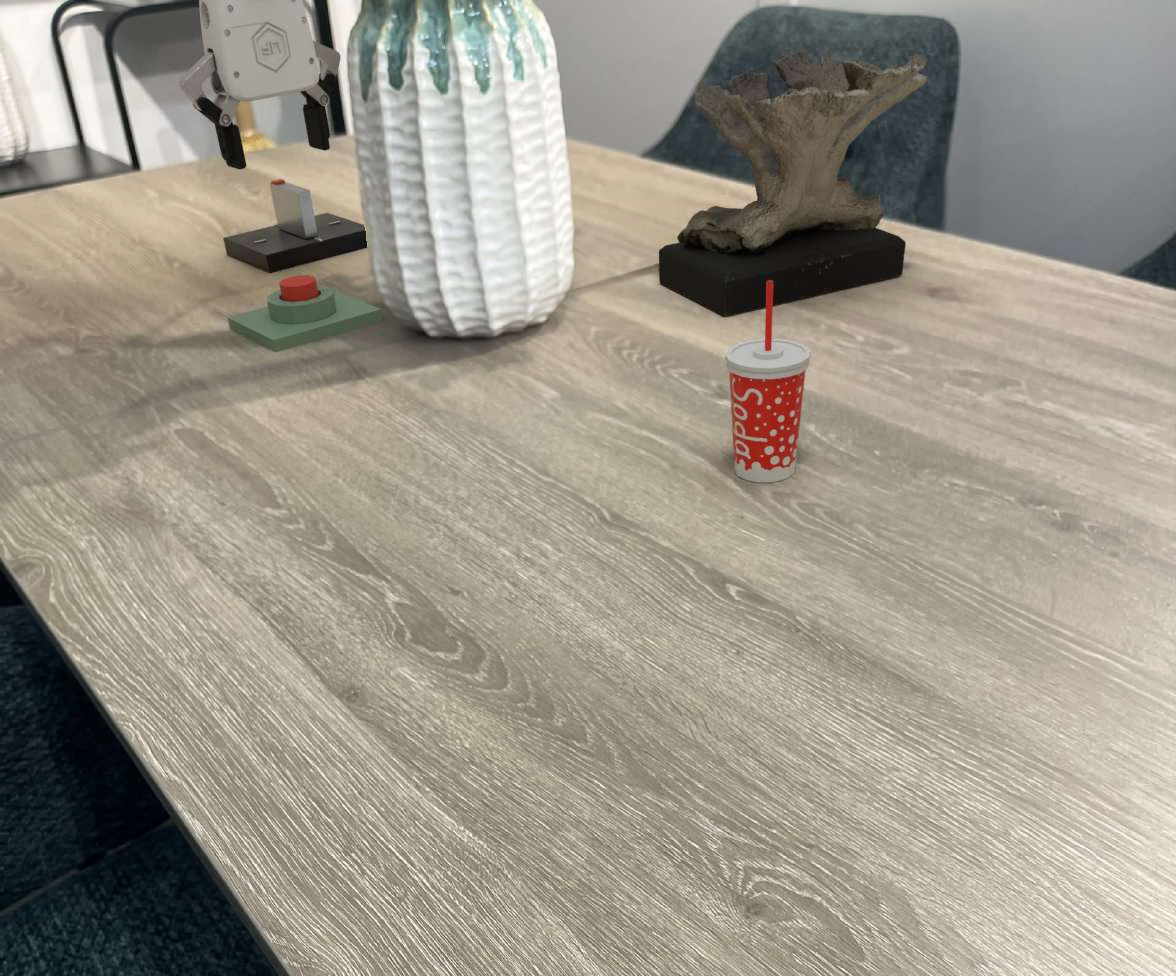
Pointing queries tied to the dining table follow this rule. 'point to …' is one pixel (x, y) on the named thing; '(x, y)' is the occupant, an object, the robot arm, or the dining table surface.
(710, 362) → the dining table surface
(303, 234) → the upright grey panel
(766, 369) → the beverage cup
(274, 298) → the button block
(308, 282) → the button
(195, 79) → the robot arm
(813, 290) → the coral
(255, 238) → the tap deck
